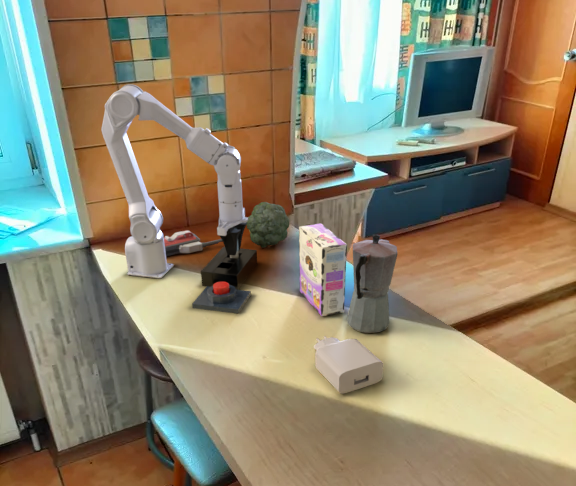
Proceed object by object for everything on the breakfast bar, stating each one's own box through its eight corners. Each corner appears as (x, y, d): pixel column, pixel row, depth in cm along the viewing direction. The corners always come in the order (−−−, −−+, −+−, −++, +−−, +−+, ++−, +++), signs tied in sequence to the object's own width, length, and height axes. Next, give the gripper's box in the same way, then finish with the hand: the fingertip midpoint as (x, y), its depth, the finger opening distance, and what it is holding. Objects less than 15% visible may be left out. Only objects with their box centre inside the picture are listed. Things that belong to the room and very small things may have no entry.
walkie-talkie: (161, 261, 155) (228, 245, 164) (159, 246, 153) (227, 230, 162) (149, 250, 162) (215, 235, 171) (147, 235, 160) (213, 220, 169)
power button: (211, 294, 133) (210, 287, 132) (217, 287, 136) (216, 280, 135) (226, 296, 132) (225, 289, 132) (231, 289, 135) (231, 282, 134)
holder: (202, 286, 143) (200, 271, 141) (224, 260, 155) (223, 246, 153) (238, 290, 140) (237, 275, 138) (257, 264, 153) (256, 249, 151)
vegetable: (279, 220, 174) (304, 212, 161) (263, 259, 172) (286, 254, 158) (245, 200, 169) (267, 189, 156) (227, 239, 167) (249, 232, 153)
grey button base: (192, 308, 133) (191, 296, 132) (207, 290, 141) (206, 279, 139) (238, 314, 131) (237, 302, 129) (251, 295, 138) (250, 284, 137)
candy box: (345, 313, 130) (348, 243, 122) (320, 317, 129) (322, 247, 120) (321, 286, 142) (322, 221, 133) (298, 290, 140) (298, 225, 132)
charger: (340, 342, 120) (382, 381, 108) (300, 354, 116) (338, 395, 105) (341, 322, 117) (384, 360, 106) (299, 333, 114) (339, 373, 102)
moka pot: (399, 313, 130) (407, 227, 120) (378, 347, 118) (385, 256, 108) (358, 304, 133) (363, 221, 123) (334, 337, 121) (336, 248, 111)
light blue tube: (228, 262, 149) (226, 228, 144) (231, 258, 151) (229, 225, 146) (237, 263, 148) (235, 229, 144) (240, 259, 150) (238, 226, 146)
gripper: (236, 211, 134) (239, 265, 141) (255, 191, 146) (257, 242, 153) (207, 208, 136) (211, 262, 143) (228, 189, 148) (231, 240, 155)
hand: (233, 252), depth 148 cm, fingers closed on light blue tube, 2 cm apart
